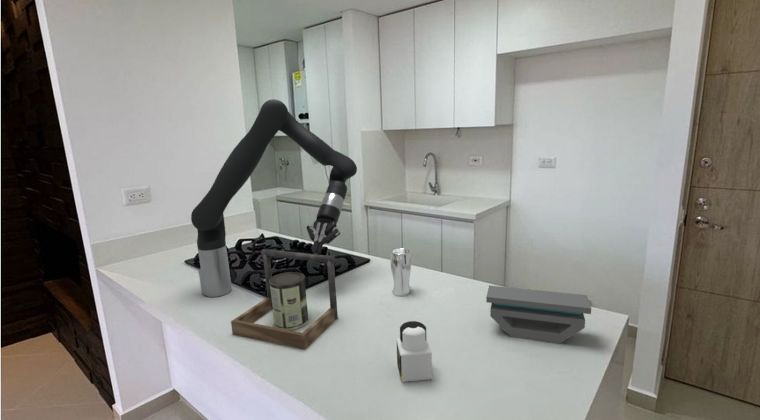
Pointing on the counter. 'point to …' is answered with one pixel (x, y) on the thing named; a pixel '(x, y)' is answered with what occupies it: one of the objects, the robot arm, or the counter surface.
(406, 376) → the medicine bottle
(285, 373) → the counter surface
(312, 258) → the frame
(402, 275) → the beer glass
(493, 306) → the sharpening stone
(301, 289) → the coffee can
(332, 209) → the robot arm
